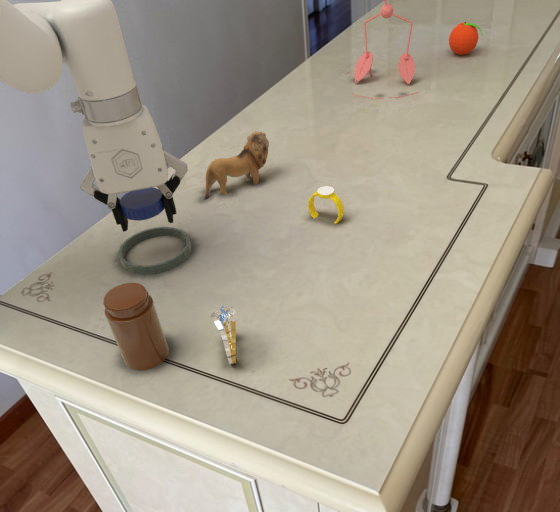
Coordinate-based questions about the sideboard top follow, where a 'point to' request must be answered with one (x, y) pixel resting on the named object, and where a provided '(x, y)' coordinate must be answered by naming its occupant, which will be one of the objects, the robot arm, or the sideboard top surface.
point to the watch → (326, 193)
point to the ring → (227, 330)
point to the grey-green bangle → (160, 266)
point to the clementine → (463, 38)
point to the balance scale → (365, 61)
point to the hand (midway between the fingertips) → (148, 221)
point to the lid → (142, 204)
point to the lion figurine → (239, 163)
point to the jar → (135, 326)
